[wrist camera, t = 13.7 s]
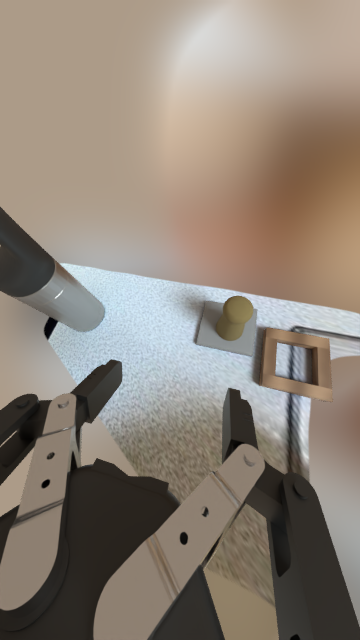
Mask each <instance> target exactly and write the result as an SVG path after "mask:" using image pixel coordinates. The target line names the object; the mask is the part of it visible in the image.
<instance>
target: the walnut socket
mask: <svg viewBox="0 0 360 640" xmlns="http://www.w3.org/2000/svg"><path fill="white" fill-rule="evenodd" d="M277 342H278V343H283V344H288V345H293V346H298V347H303V348H308V349H312V385H311V384H307V383H303V382H298V381H294V380H290V379H285V378H281V377H277V376H275V369H276V350H277ZM259 386H263V387H267V388H271V389H275V390H280V391H284V392H288V393H292V394H296V395H300V396H304V397H308V398H313V399H317V400H321V401H325V402H333V399H332V380H331V362H330V344H329V339H327V338H322V337H317V336H311V335H306V334H300V333H295V332H289V331H284V330H279V329H273V328H268V327H267V328H266V329H265V330H264V332H263V344H262V356H261V368H260V380H259Z"/></svg>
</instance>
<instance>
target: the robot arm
mask: <svg viewBox="0 0 360 640" xmlns="http://www.w3.org/2000/svg"><path fill="white" fill-rule="evenodd" d="M0 245H1V247H0V291H2V292H4V293H6V294H7V295H10V296H11V297H13V298H15V299H17V300H19V301H21V302H23V303H25V304H27V305H29V306H31V307H33V308H35V309H36V310H38V311H40V312H43V313H44V314H46V315H48V316H50V317H52V318H54V319H56V320H57V321H59V322H61V323H63V324H65V325H67V326H69V327H71V328H73V329H75V330H77V331H80V332H87V331H90V330H93V329H94V328H96V327H97V326H98V325H99V324H100V323H101V321H102V320H103V317H104V313H105V310H104V306H103V305H102V303H101V302H100V301H99V300H97V299H96V298H95V297H94V296H93V295H92V294H91V293H90V292H89V291H88V290H87V289H86V288H85V287H84V286H83V285H81V284H80V283H79V282H78V281H77V280H76V279H75V278H74V277H73V276H72V275H71V274H70V273H69V272H68V271H66V270H65V269H64V268H63V267H62V266H61V265H60V264H59V263H58V262H57V261H55V259H53V258H52V257H51V256H50V255H49V254H48V253H47V252H46V251H45V250H44V249H42V247H41V246H40V245H39V244H38V243H37V242H36V241H34V240H33V239H32V238H31V237H30V236H29V235H28V234H27V233H26V232H25V231H24V230H23V229H22V228H21V227H20V226H19V225H18V224H17V223H16V222H15V221H14V220H13V219H12V218H11V217H10V216H9V215H8V214H7V213H6V212H5V211H4V210H3V209H2V208H1V207H0ZM121 382H122V363H121V362H120V361H116V360H112V359H111V360H110V361H109V362H108V363H107V364H106V365H101V366H99V367H97V368H96V369H94V370H93V371H92V372H91V374H89V375H88V376H87V378H85V379H84V380H83V381H82V382H81V383H80V384H79V385H78V386H77V387H76V388H75V389H74V390H73V391H72V392H71V393H68V394H62V395H60V396H58V397H56V398H55V399H54V400H41V401H39V400H38V397H37V395H35V394H26V395H22V396H20V397H18V398H16V399H14V400H13V401H12V402H10V403H9V404H8V405H7V406H6V407H4V408H3V409H2V410H0V446H1V444H2V443H3V442H4V441H5V440H6V439H7V438H9V436H11V435H12V434H13V433H14V432H15V431H17V432H16V433H15V434H14V435H13V436H12V437H11V438H10V439H9V440H8V441H7V442H5V444H3V445H2V446H1V447H0V485H1V484H2V483H3V482H4V481H5V480H6V478H7V477H8V476H9V475H10V474H11V473H12V472H13V470H14V469H15V468H16V467H17V466H18V465H19V463H20V462H21V461H22V460H23V459H24V458H25V457H26V456H27V454H28V453H29V452H30V451H31V450H32V449H33V448H34V447H35V448H34V452H33V456H32V460H31V463H30V468H29V471H28V475H27V479H26V483H25V487H24V490H23V494H22V498H21V502H20V505H18V506H16V507H15V508H13V509H12V510H10V511H9V512H7V513H5V514H4V515H2V516H1V517H0V640H225V638H224V635H223V632H222V629H221V625H220V622H219V619H218V616H217V613H216V610H215V607H214V603H213V600H212V597H211V594H210V590H209V587H208V584H207V581H206V578H205V574H204V571H203V570H204V569H205V567H206V566H207V564H208V563H209V561H210V560H211V558H212V557H213V555H214V554H215V552H216V550H217V549H218V547H219V546H220V544H221V542H222V541H223V539H224V537H225V536H226V534H227V532H228V531H229V529H230V528H231V526H232V525H233V523H234V522H235V520H236V519H237V517H238V515H239V514H240V512H241V511H242V509H243V508H244V506H245V505H246V503H247V504H248V505H250V506H251V507H252V508H254V509H255V510H256V511H257V512H259V513H260V514H261V515H263V516H264V517H265V518H266V521H267V531H268V540H269V549H270V559H271V568H272V578H273V587H274V596H275V606H276V615H277V624H278V634H279V640H360V627H359V624H358V621H357V618H356V615H355V611H354V608H353V605H352V602H351V599H350V596H349V593H348V590H347V586H346V583H345V580H344V577H343V575H342V571H341V568H340V565H339V561H338V558H337V555H336V552H335V549H334V546H333V543H332V540H331V537H330V534H329V530H328V528H327V524H326V521H325V518H324V515H323V512H322V509H321V505H320V502H319V499H318V496H317V494H316V492H315V490H314V489H313V487H312V486H311V484H310V483H309V482H308V481H307V480H306V479H305V478H303V477H302V476H300V475H299V474H296V473H293V472H289V473H286V474H285V475H284V474H283V473H281V472H280V471H278V470H276V469H275V468H273V467H272V466H270V465H269V464H268V463H267V462H266V461H265V460H264V459H263V457H262V455H261V453H260V452H259V450H258V446H257V440H256V434H255V427H254V423H253V422H254V421H253V417H252V409H251V406H250V405H249V403H248V401H247V400H243V399H241V395H240V390H236V389H232V388H228V391H227V394H226V398H225V401H224V406H223V426H222V465H221V466H220V467H219V469H218V470H217V471H216V472H211V473H210V474H209V475H208V476H207V477H206V478H205V479H204V480H203V481H202V482H201V484H200V485H199V486H198V487H197V488H196V489H195V490H194V491H193V492H192V493H191V494H190V495H189V497H188V498H187V499H186V500H185V501H184V502H183V503H182V504H180V502H179V501H178V500H177V498H176V497H175V496H174V495H173V494H172V493H171V492H170V491H169V490H168V485H169V483H167V482H164V481H161V480H158V479H155V478H152V477H133V476H128V475H126V474H125V473H124V472H123V471H122V470H120V469H119V468H118V467H116V466H115V465H114V464H112V463H109V462H106V461H103V460H100V459H98V458H97V459H96V460H95V462H94V464H93V465H85V466H82V467H81V438H82V425H83V424H84V422H88V423H92V422H93V421H94V419H95V418H96V416H97V415H98V414H99V413H100V411H101V410H102V409H103V407H104V406H105V404H106V403H107V402H108V400H109V399H110V398H111V396H112V395H113V394H114V392H115V391H116V390H117V388H118V387H119V386H120V384H121Z"/></svg>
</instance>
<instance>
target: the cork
mask: <svg viewBox="0 0 360 640" xmlns="http://www.w3.org/2000/svg"><path fill="white" fill-rule="evenodd" d="M252 315H253V305H252V303H251V302H250V301H249V300H248V299H247V298H245V297H242V296H233V297H231V298H229V299H228V300H227V301H226V302H225V303H224V305H223V314H222V316H221V317H220V319H219V320H218V322H217V324H216V331H217V333H218V335H219V336H220V337H221V338H222V339H224V340H226V341H234V340H237V339H239V338H240V337H241V336H242V333H243V330H244V327H245V323H246V322H248V321H249V320H250V319H251V317H252Z"/></svg>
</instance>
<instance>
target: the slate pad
mask: <svg viewBox="0 0 360 640" xmlns="http://www.w3.org/2000/svg"><path fill="white" fill-rule="evenodd" d="M223 305H224V303H218V302H212V301H206V302H205V307H204V311H203V316H202V320H201V325H200V329H199V334H198V339H197V343H196V345H200V346H205V347H209V348H214V349H219V350H223V351H228V352H233V353H237V354H242V355H246V356H251V357H252V356H253V348H254V339H255V329H256V319H257V309H253V315H252V317H251V319H250V320H249V321H248V322H246V323H245V327H244V330H243V333H242V336H241V337H240V338H239V339H237V340H234V341H226V340H224V339H222V338H221V337H220V336H219V335H218V333H217V331H216V324H217V322H218V320H219V319H220V317H221V316H222V314H223Z"/></svg>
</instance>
